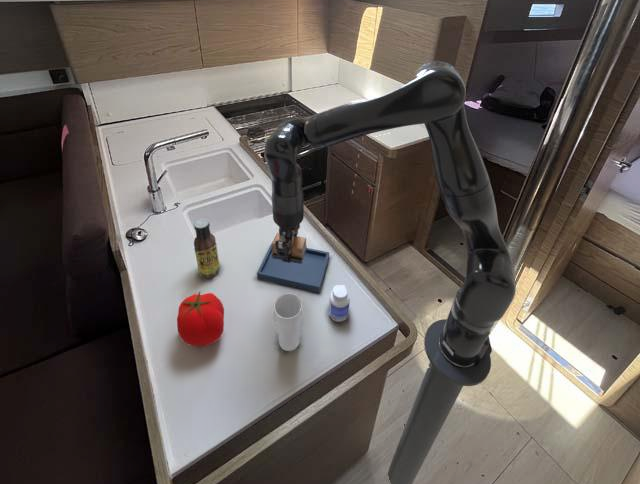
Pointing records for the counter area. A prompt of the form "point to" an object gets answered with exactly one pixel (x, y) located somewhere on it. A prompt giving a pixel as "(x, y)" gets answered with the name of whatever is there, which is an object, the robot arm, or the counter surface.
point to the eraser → (292, 249)
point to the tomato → (200, 319)
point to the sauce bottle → (206, 249)
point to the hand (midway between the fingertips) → (289, 252)
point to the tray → (296, 270)
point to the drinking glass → (288, 320)
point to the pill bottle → (339, 303)
